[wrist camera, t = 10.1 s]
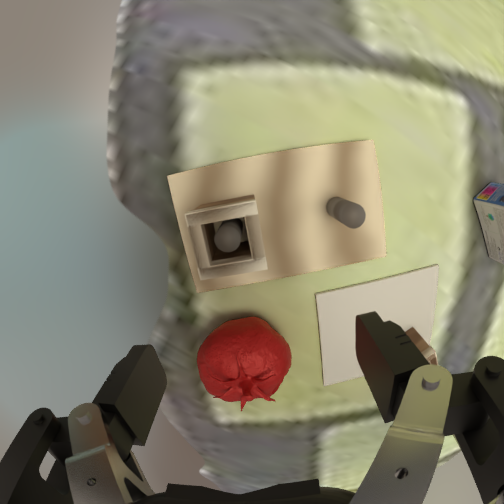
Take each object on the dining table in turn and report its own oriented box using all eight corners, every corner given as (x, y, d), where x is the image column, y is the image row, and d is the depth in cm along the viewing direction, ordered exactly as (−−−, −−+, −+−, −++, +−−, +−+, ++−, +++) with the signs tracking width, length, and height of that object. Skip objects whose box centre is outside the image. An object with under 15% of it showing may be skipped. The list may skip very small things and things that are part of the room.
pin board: (368, 140, 25) (397, 135, 19) (381, 253, 28) (408, 273, 22) (170, 175, 26) (148, 178, 20) (199, 288, 29) (187, 317, 23)
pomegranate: (187, 329, 31) (165, 381, 22) (263, 292, 30) (265, 342, 21) (232, 385, 33) (225, 440, 24) (302, 356, 32) (313, 412, 23)
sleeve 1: (255, 193, 25) (255, 200, 19) (264, 247, 27) (267, 269, 21) (199, 203, 25) (184, 214, 20) (211, 256, 27) (200, 280, 21)
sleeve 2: (413, 325, 30) (435, 351, 25) (420, 350, 32) (439, 376, 26) (379, 346, 31) (397, 376, 25) (389, 370, 33) (405, 398, 27)
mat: (437, 263, 28) (438, 264, 28) (426, 353, 32) (427, 354, 32) (315, 293, 29) (316, 294, 29) (323, 384, 33) (324, 386, 33)
